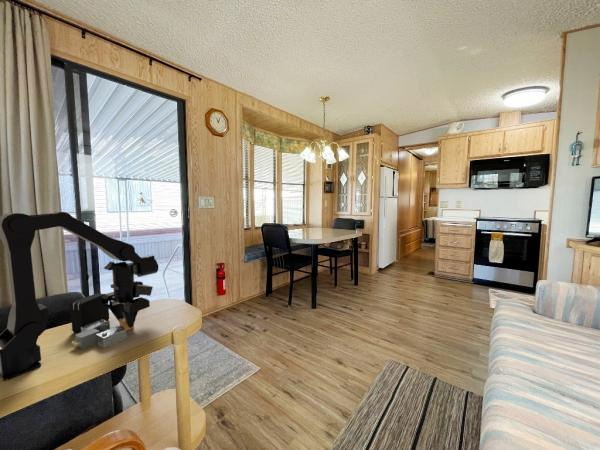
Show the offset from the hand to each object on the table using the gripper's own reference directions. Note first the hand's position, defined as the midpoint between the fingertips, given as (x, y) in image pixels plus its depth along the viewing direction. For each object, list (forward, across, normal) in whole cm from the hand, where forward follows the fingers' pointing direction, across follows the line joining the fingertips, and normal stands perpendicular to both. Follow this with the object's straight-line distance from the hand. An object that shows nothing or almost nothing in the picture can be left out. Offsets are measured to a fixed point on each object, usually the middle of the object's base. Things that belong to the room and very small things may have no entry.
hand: (126, 325), depth 85 cm
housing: (+1, 0, +7) cm, 7 cm away
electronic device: (+1, +13, +5) cm, 14 cm away
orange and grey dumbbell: (+1, 0, +6) cm, 6 cm away
